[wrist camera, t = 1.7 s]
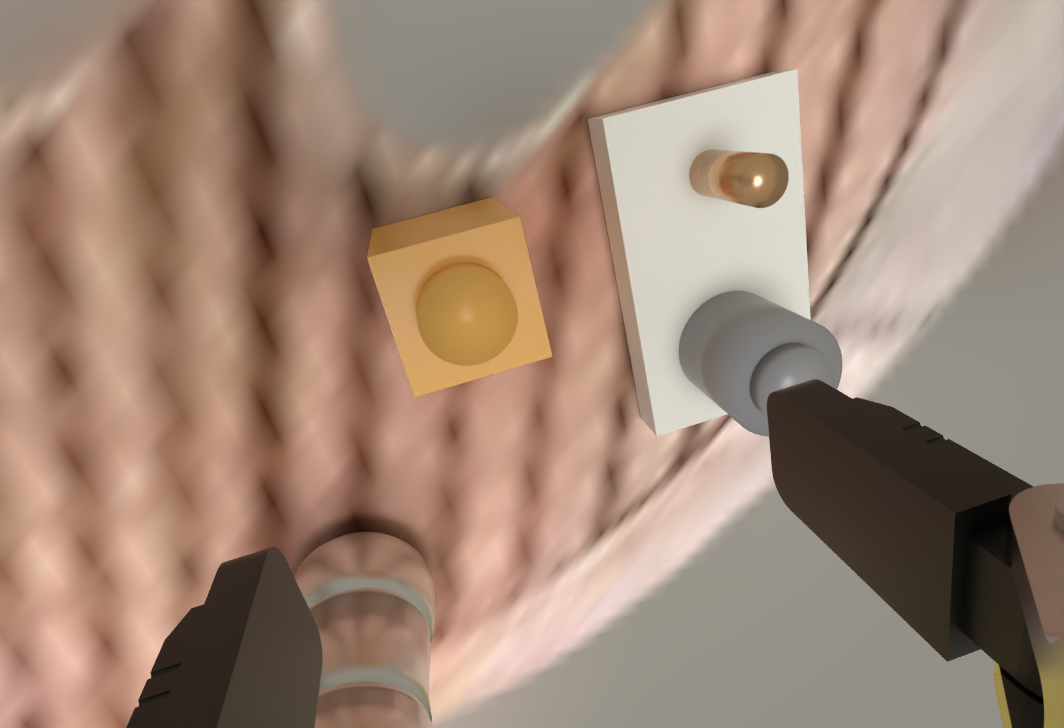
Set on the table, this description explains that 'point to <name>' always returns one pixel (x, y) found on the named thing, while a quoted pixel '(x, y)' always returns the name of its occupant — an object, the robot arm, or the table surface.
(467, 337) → the domed tan cube
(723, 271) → the white rectangular plate
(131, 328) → the table surface
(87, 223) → the table surface
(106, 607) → the table surface
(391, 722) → the plastic bottle
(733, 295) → the capped post
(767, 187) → the copper post
